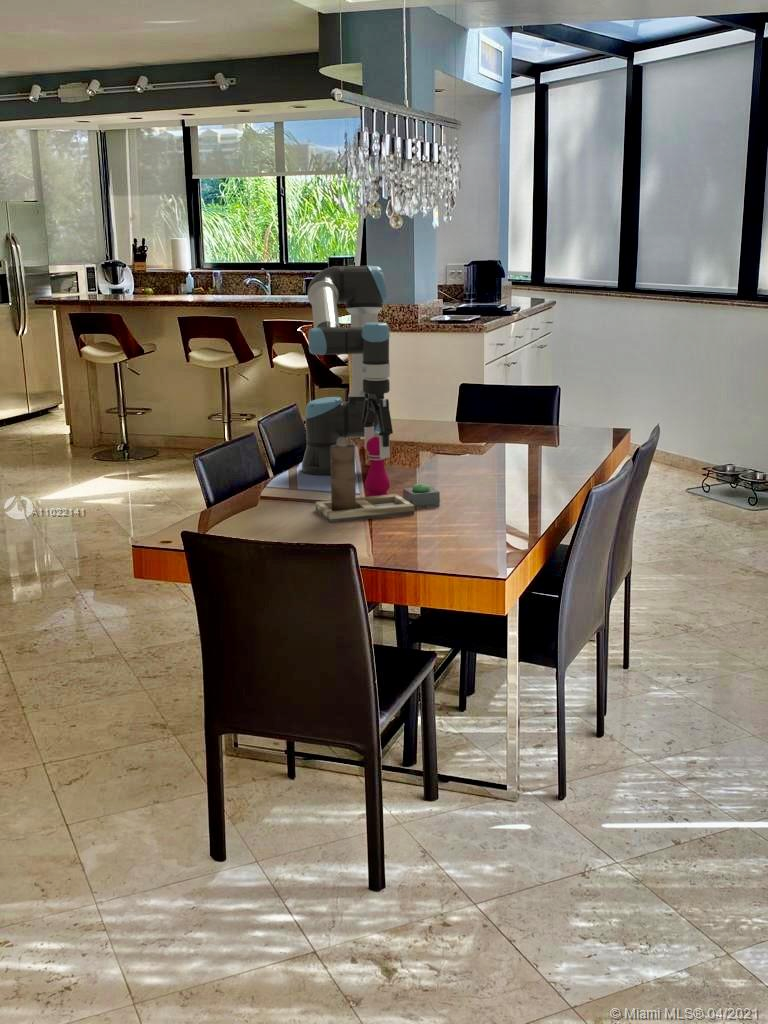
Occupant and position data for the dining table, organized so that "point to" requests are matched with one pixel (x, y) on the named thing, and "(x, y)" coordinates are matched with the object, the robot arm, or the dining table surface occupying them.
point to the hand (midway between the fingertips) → (377, 453)
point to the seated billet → (342, 475)
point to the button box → (422, 497)
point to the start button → (421, 487)
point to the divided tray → (367, 508)
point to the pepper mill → (376, 469)
